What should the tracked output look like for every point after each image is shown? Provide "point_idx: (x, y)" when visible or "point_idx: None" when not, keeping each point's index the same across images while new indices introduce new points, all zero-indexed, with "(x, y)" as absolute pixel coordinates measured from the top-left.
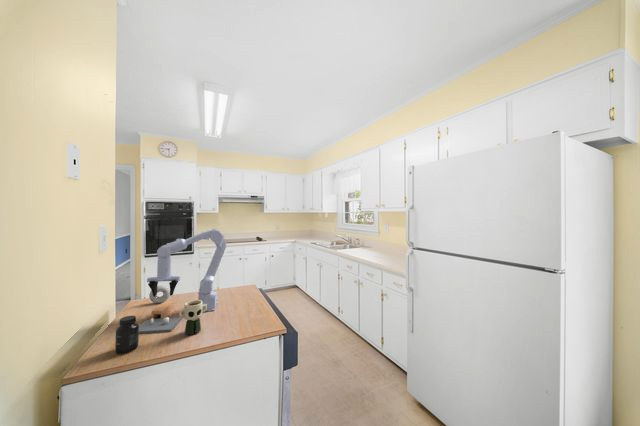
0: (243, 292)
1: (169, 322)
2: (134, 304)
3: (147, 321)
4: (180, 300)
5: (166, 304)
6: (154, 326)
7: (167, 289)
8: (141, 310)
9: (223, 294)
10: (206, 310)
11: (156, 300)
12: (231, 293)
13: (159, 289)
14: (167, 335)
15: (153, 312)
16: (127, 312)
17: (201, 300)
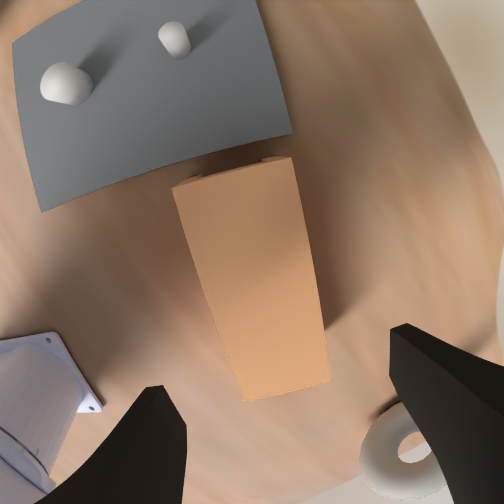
0: None
1: (66, 109)
2: (494, 356)
3: (261, 91)
4: (293, 454)
5: (261, 343)
6: (134, 29)
7: (382, 488)
8: (445, 306)
9: None
10: (10, 340)
11: None
12: None
13: (430, 468)
14: (21, 11)
15: (268, 161)
16: (493, 267)
17: (2, 385)
